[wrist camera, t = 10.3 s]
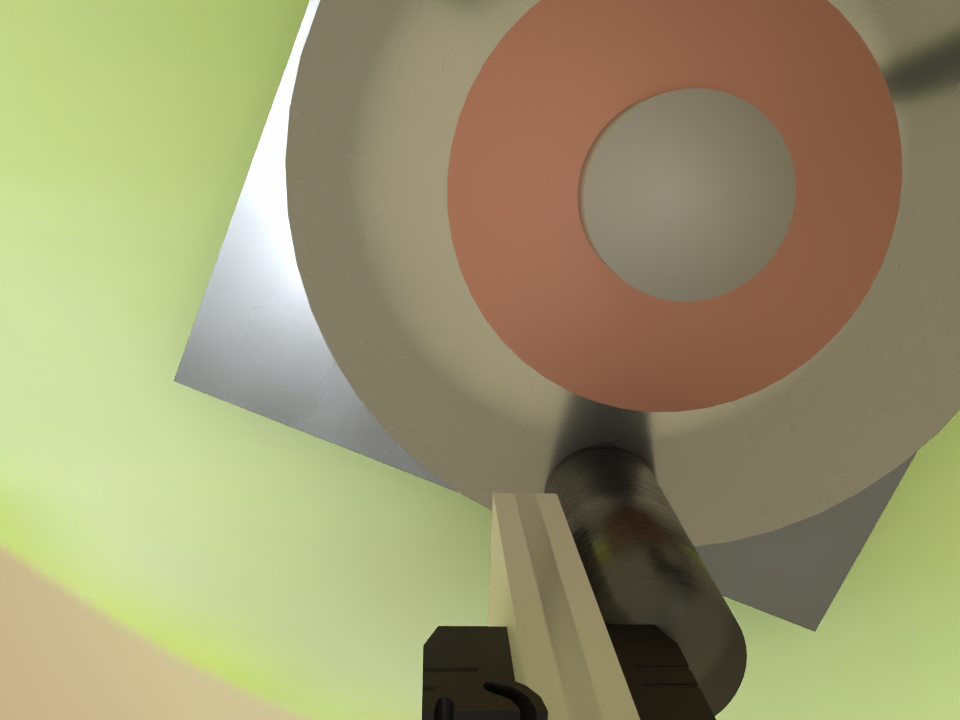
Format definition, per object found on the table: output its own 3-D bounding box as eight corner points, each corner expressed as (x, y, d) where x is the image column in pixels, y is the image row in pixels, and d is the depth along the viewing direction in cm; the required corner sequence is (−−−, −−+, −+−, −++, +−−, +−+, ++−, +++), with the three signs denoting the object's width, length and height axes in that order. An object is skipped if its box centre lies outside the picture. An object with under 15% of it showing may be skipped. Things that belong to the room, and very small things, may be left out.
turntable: (365, -303, 17) (287, -661, 9) (1125, -123, 17) (1609, -316, 10) (251, 461, 20) (128, 648, 13) (890, 577, 21) (1122, 813, 14)
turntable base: (461, -396, 17) (453, -1641, 5) (1167, -38, 19) (2385, -348, 7) (184, 371, 20) (-203, 690, 9) (802, 614, 22) (1192, 1158, 10)
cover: (489, -49, 16) (499, -121, 12) (860, 31, 17) (1002, -7, 12) (420, 325, 18) (405, 384, 13) (759, 390, 18) (853, 469, 14)
